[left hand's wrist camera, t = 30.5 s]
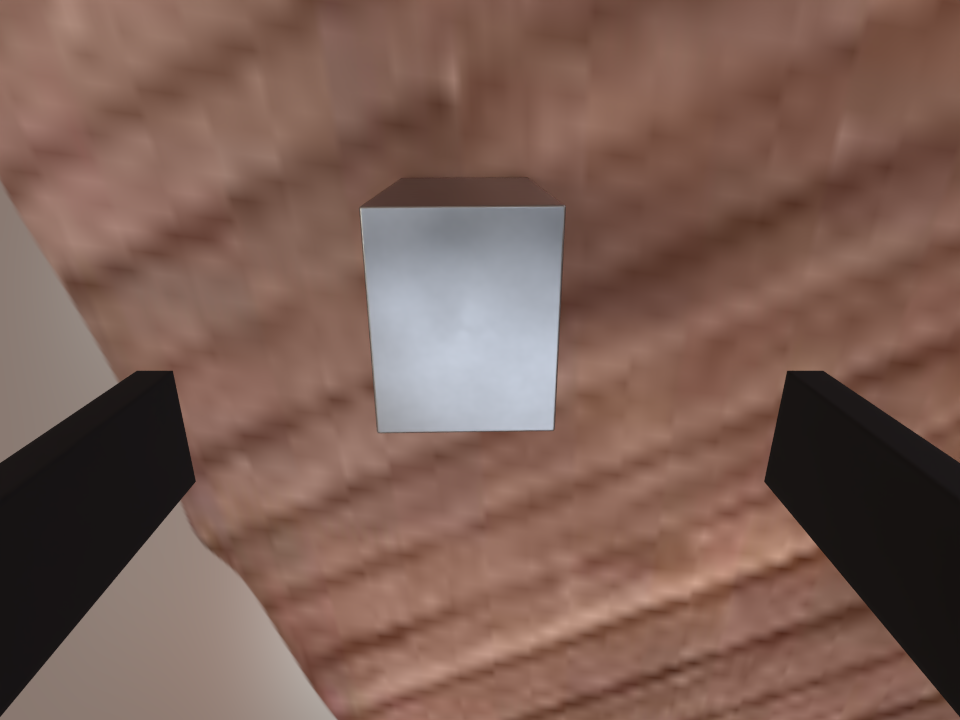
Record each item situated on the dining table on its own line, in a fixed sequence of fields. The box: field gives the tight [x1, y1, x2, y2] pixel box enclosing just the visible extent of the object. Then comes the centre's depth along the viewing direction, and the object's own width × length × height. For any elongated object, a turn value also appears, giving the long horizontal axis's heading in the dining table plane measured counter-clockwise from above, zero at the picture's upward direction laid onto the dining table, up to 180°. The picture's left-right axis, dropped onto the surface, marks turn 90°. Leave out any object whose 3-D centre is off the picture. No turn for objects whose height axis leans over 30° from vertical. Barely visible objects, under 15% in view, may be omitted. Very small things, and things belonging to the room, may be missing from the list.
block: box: [359, 177, 566, 433], centre depth 24 cm, size 6×8×12 cm
